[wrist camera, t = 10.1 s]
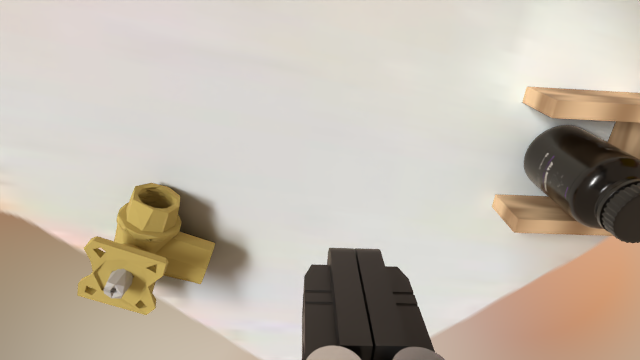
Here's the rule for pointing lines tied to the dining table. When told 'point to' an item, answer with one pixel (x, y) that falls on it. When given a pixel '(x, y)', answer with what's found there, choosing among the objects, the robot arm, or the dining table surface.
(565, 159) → the supplement bottle
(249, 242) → the dining table surface
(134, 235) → the ball valve
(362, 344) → the robot arm
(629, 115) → the frame
